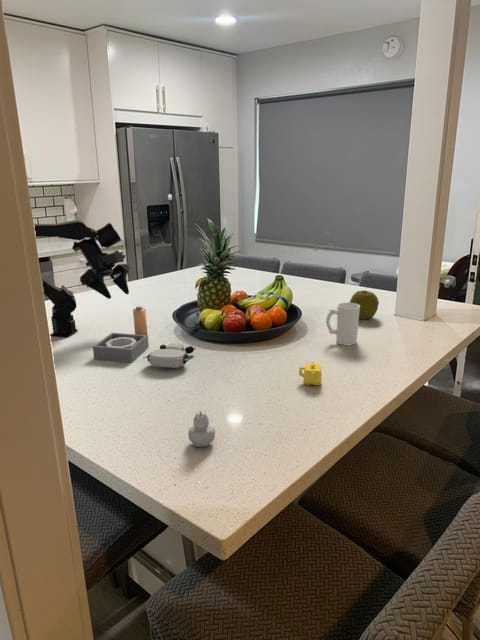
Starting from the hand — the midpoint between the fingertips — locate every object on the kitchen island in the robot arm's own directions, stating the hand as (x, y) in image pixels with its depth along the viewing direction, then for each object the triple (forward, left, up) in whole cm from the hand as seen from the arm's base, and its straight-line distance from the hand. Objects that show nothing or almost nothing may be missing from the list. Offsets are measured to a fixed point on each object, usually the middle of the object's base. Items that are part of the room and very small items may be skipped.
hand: (119, 295), depth 156 cm
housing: (+7, -15, -14) cm, 21 cm away
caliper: (+22, +19, -14) cm, 32 cm away
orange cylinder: (+7, -1, -14) cm, 15 cm away
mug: (+71, +8, -14) cm, 73 cm away
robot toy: (+24, -18, -14) cm, 33 cm away
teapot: (+64, -23, -14) cm, 69 cm away
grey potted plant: (+45, -56, -14) cm, 73 cm away
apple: (+78, +34, -14) cm, 86 cm away
